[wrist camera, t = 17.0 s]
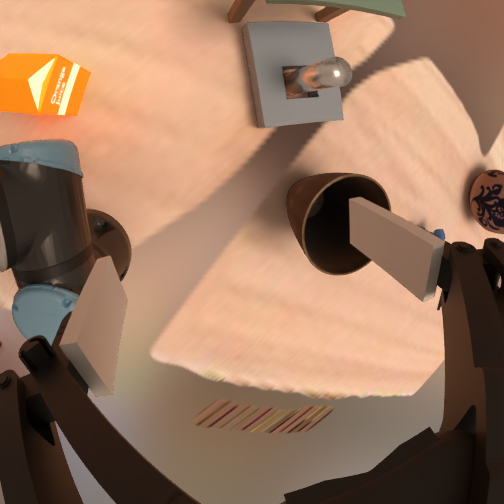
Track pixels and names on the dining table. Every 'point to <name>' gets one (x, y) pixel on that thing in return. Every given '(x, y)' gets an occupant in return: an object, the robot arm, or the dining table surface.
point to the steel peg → (318, 76)
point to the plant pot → (331, 218)
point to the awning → (329, 8)
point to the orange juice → (41, 84)
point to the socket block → (285, 58)
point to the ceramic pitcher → (489, 200)
